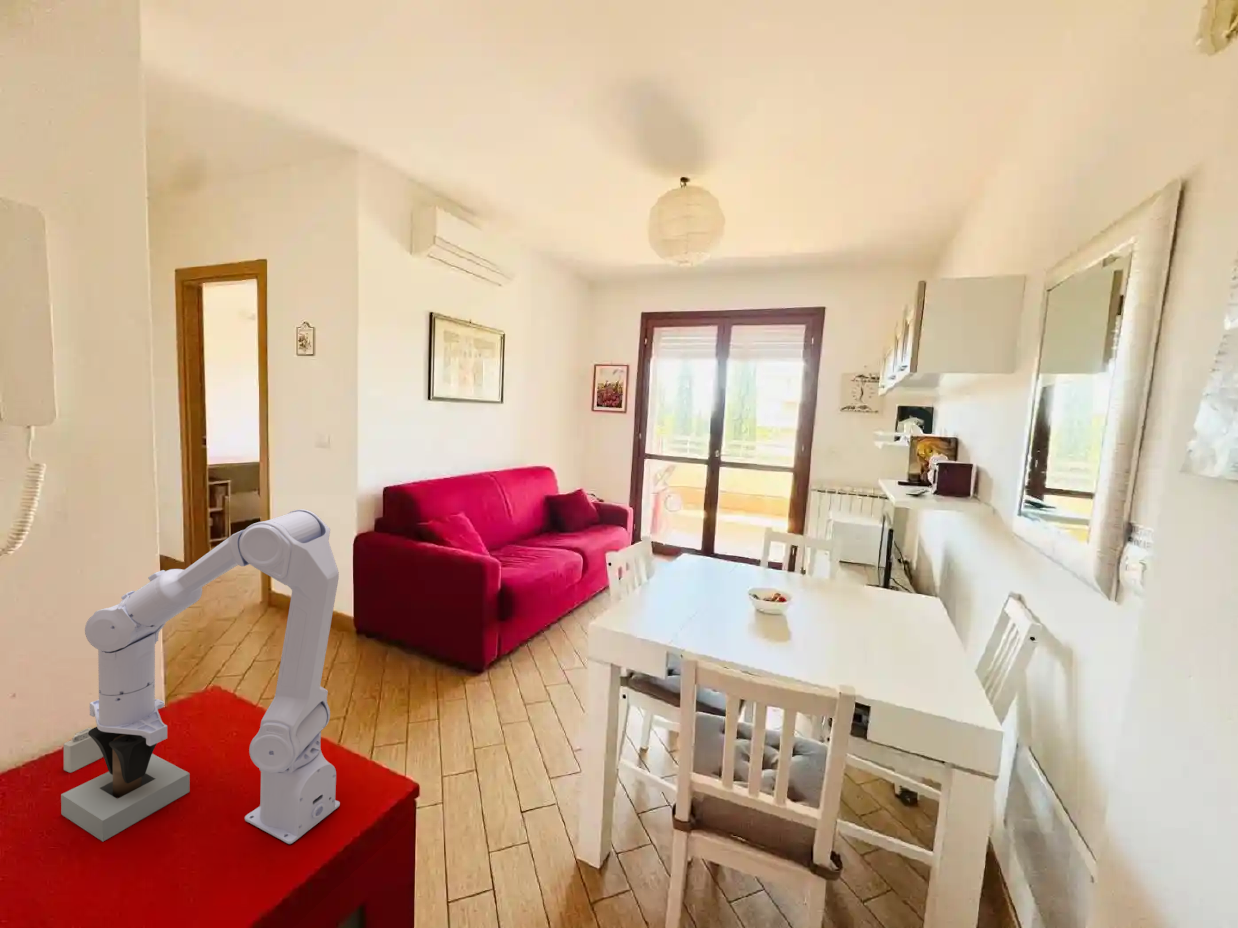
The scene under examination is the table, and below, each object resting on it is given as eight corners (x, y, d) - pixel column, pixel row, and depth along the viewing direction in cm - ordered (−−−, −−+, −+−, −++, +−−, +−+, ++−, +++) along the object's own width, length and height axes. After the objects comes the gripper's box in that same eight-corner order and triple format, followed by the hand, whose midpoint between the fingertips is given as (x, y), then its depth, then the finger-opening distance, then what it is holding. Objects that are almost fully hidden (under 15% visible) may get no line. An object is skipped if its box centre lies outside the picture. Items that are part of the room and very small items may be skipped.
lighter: (70, 772, 78) (69, 723, 77) (63, 769, 79) (62, 720, 78) (126, 745, 85) (126, 699, 84) (119, 742, 85) (119, 697, 85)
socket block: (189, 791, 77) (189, 773, 76) (102, 841, 67) (102, 820, 67) (149, 769, 80) (149, 751, 80) (61, 814, 71) (61, 794, 70)
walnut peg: (146, 786, 74) (146, 735, 74) (120, 800, 71) (120, 747, 71) (134, 779, 75) (134, 728, 75) (107, 793, 73) (107, 740, 72)
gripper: (192, 685, 73) (191, 773, 74) (132, 659, 78) (132, 742, 79) (131, 710, 66) (131, 806, 68) (69, 680, 72) (70, 770, 73)
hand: (127, 774), depth 73 cm, fingers closed on walnut peg, 3 cm apart
